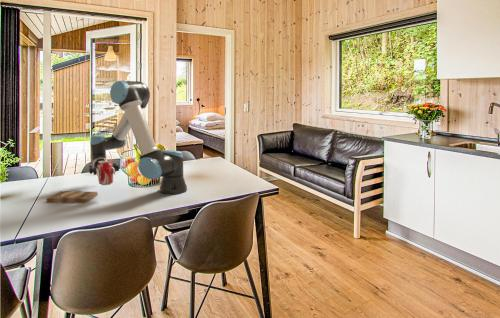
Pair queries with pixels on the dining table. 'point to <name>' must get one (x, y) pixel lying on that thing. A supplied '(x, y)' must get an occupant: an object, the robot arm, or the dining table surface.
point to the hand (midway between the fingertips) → (106, 172)
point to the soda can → (105, 172)
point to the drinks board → (72, 197)
